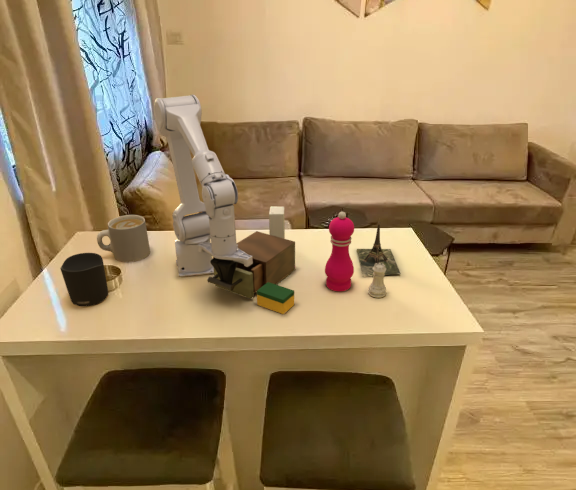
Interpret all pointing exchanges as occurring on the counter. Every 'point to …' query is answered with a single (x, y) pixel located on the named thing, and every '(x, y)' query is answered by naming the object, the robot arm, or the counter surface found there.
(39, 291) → the counter surface
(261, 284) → the drawer
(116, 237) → the coffee mug
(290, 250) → the cabinet
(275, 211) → the cosmetic box
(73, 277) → the black speaker
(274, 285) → the sponge
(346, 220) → the pepper mill
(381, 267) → the rook chess piece
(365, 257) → the eiffel tower figurine
